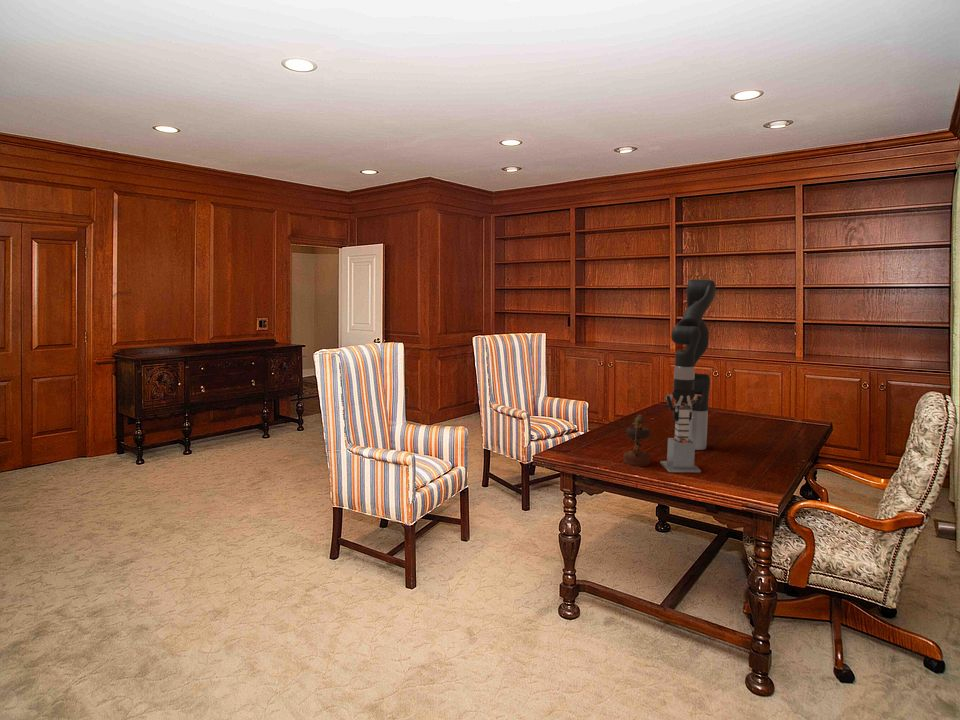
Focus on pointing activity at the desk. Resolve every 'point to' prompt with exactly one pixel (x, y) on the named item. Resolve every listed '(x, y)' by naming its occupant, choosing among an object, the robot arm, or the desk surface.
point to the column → (682, 423)
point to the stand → (680, 456)
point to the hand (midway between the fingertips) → (682, 420)
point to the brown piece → (637, 444)
